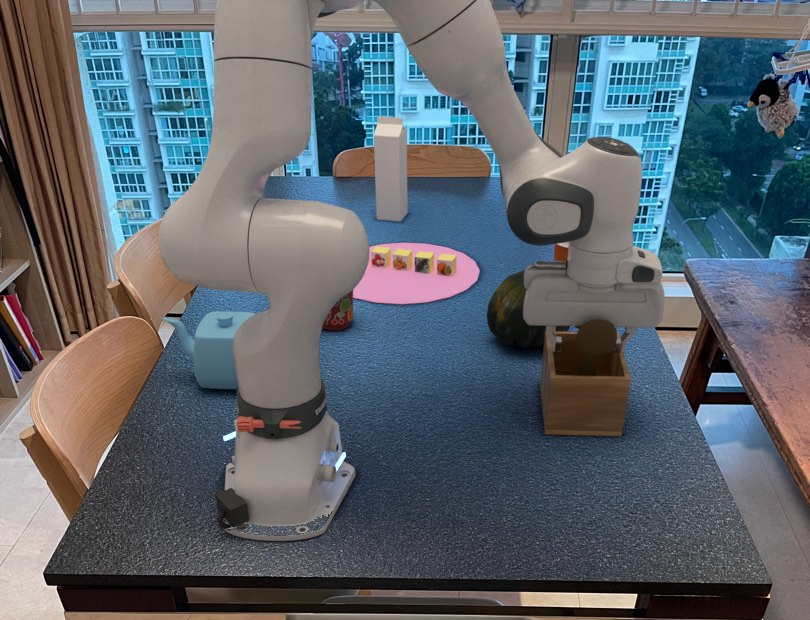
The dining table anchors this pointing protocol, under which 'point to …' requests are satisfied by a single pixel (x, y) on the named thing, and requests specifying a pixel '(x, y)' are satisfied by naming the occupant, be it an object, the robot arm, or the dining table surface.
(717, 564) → the dining table surface
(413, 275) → the platter
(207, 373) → the teapot
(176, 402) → the dining table surface
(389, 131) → the milk
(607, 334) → the kendama
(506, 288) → the squash
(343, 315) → the smoothie
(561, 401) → the caddy
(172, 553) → the dining table surface
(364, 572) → the dining table surface
